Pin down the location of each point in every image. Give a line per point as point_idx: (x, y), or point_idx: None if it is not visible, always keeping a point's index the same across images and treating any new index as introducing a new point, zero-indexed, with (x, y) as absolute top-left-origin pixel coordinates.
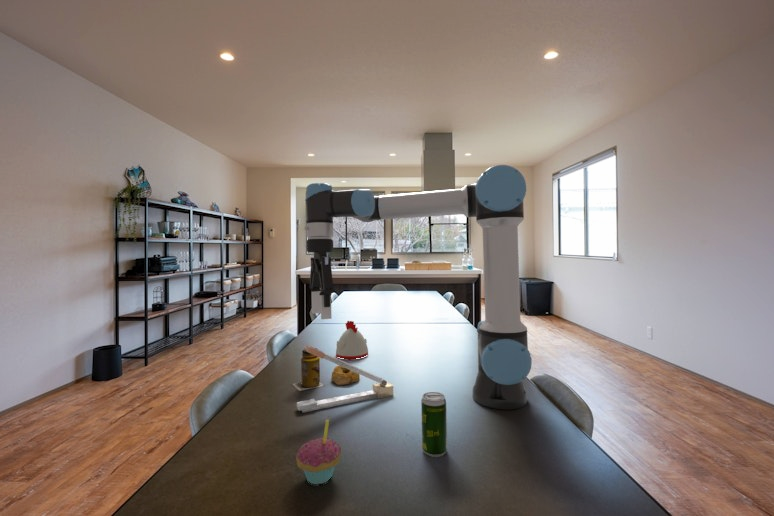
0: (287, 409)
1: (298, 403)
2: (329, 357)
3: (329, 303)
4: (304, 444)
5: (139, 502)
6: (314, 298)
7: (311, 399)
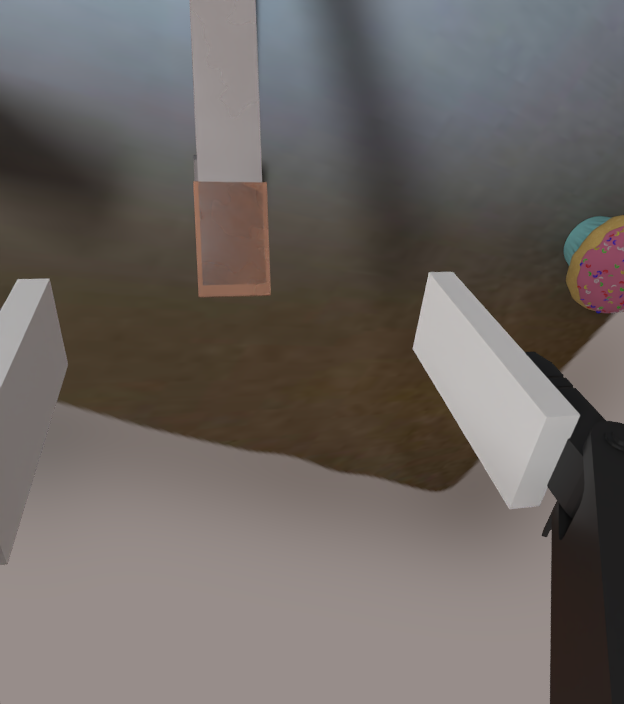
0: (182, 251)
1: None
2: (259, 147)
3: (559, 378)
4: (608, 303)
5: (439, 488)
6: (22, 460)
7: (195, 172)
